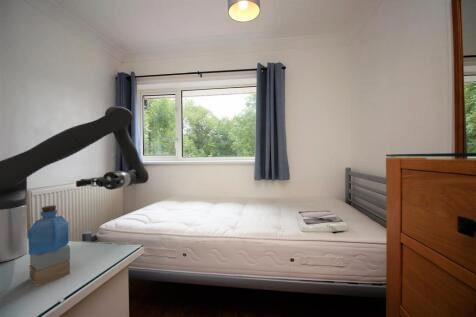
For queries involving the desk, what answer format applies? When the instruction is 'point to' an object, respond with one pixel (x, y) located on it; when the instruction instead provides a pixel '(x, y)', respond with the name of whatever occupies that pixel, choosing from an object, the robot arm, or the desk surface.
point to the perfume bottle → (48, 232)
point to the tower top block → (50, 258)
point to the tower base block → (49, 273)
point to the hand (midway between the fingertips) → (88, 183)
